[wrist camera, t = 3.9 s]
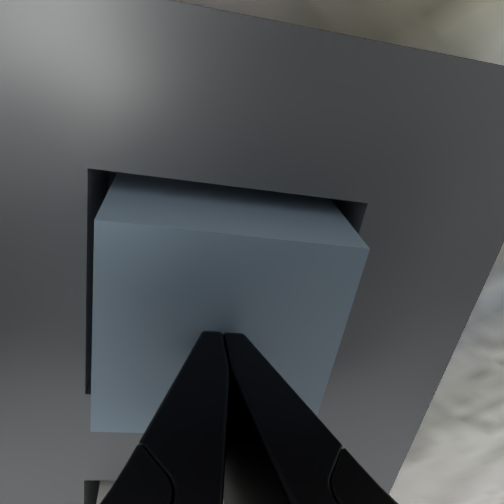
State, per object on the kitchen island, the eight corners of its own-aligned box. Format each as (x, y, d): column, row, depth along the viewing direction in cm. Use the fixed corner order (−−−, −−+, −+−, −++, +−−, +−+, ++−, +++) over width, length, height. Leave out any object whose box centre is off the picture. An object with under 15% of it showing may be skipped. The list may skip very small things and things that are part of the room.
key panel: (271, 639, 25) (282, 725, 22) (21, 654, 23) (-6, 754, 20) (478, 65, 12) (577, 80, 9) (-52, -38, 10) (-165, -67, 7)
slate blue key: (286, 354, 13) (310, 436, 11) (111, 343, 12) (90, 431, 10) (327, 195, 11) (369, 248, 8) (118, 168, 10) (94, 219, 8)
